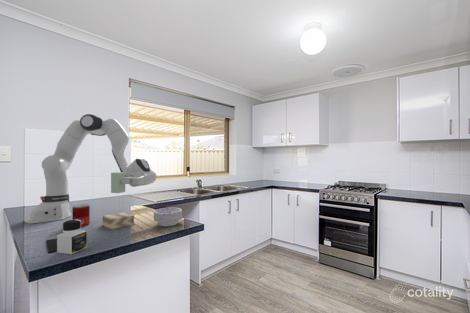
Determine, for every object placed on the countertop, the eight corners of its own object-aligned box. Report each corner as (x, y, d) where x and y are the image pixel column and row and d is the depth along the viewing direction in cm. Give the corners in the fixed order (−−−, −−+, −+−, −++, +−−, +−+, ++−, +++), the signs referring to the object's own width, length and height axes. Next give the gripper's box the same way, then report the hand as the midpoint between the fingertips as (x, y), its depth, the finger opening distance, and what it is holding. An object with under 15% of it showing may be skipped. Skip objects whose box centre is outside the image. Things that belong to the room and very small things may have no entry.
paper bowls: (167, 230, 121) (167, 214, 121) (147, 225, 129) (147, 211, 129) (188, 222, 134) (187, 208, 134) (169, 219, 142) (169, 206, 142)
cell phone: (48, 254, 92) (48, 252, 92) (46, 242, 106) (46, 240, 106) (75, 248, 98) (75, 246, 98) (70, 237, 111) (70, 235, 111)
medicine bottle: (72, 254, 91) (71, 223, 91) (56, 253, 92) (56, 222, 92) (87, 247, 98) (87, 218, 98) (72, 246, 99) (72, 217, 99)
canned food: (92, 223, 134) (92, 204, 134) (79, 227, 126) (79, 207, 126) (82, 222, 136) (82, 203, 136) (69, 226, 128) (69, 206, 129)
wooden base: (110, 229, 123) (110, 219, 123) (102, 224, 131) (102, 215, 131) (133, 224, 131) (133, 215, 131) (124, 220, 140) (124, 212, 140)
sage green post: (111, 192, 130) (110, 172, 130) (118, 191, 134) (118, 172, 135) (118, 193, 128) (117, 172, 128) (125, 191, 133) (125, 172, 133)
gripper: (122, 173, 147) (102, 175, 134) (148, 174, 140) (131, 176, 127) (122, 184, 147) (102, 186, 134) (149, 185, 140) (131, 188, 127)
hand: (116, 181), depth 130 cm, fingers closed on sage green post, 5 cm apart
